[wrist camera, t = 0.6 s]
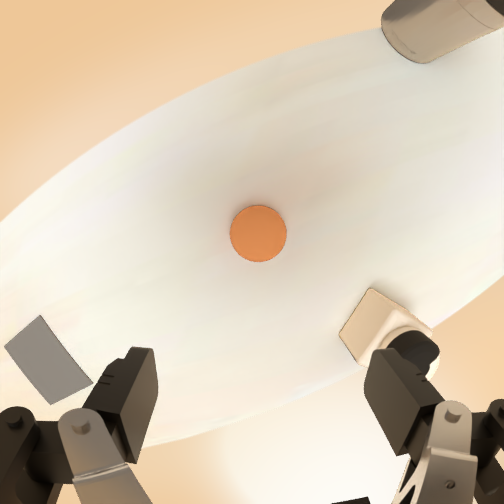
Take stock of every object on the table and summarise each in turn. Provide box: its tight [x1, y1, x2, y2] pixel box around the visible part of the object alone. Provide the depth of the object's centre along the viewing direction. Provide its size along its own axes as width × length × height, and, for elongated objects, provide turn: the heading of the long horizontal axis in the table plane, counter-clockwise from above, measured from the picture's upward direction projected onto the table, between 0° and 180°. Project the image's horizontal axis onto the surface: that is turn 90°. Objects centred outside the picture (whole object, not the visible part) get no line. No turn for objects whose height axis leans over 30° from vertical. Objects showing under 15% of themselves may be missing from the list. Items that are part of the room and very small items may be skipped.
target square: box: [4, 315, 93, 405], centre depth 35 cm, size 12×12×1 cm
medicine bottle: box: [339, 288, 440, 381], centre depth 31 cm, size 7×7×12 cm
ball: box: [230, 206, 286, 262], centre depth 30 cm, size 6×6×6 cm
